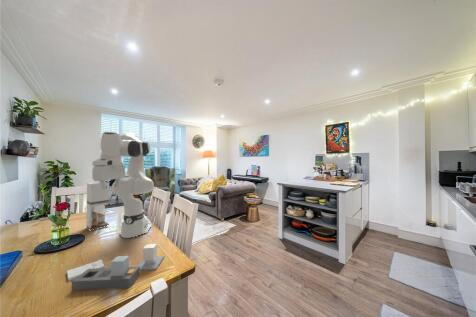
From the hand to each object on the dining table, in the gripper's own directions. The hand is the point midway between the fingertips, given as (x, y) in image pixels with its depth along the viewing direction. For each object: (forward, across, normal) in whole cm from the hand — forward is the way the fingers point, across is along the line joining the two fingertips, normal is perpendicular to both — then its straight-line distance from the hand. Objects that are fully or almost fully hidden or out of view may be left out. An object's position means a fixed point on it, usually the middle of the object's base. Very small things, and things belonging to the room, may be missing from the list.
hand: (110, 188), depth 90 cm
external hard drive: (+38, +9, -5) cm, 39 cm away
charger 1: (+34, +18, +16) cm, 41 cm away
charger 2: (+36, +6, +23) cm, 43 cm away
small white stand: (+37, -47, -40) cm, 72 cm away
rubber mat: (+37, +6, +23) cm, 44 cm away
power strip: (+37, +18, +11) cm, 43 cm away
